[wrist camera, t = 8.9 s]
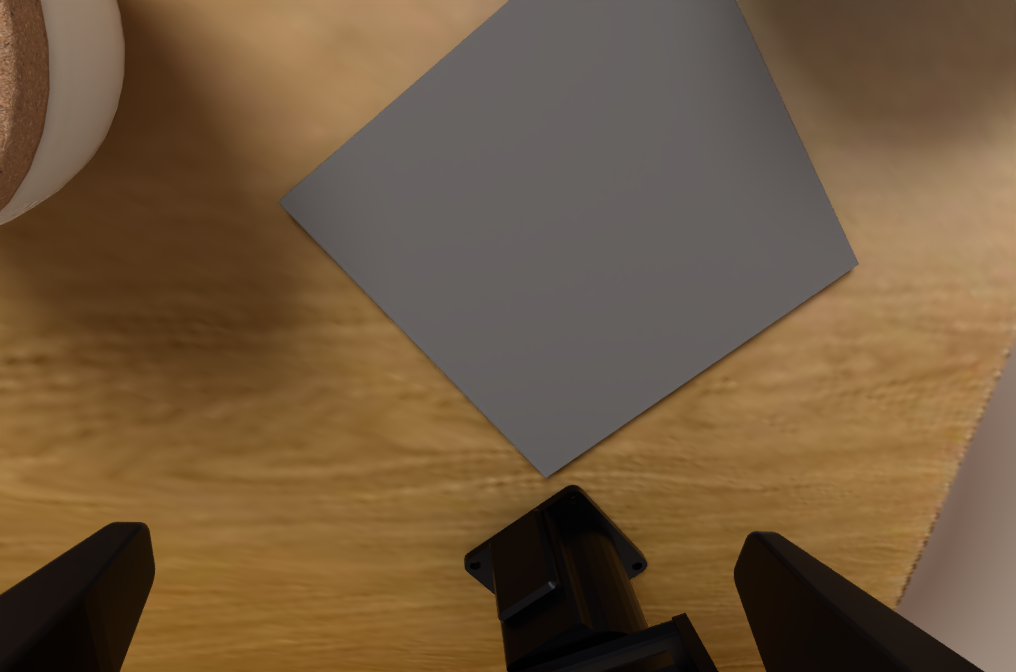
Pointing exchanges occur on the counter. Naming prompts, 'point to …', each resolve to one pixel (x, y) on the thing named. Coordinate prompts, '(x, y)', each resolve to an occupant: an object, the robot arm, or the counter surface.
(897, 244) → the counter surface
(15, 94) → the lidded jar
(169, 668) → the counter surface
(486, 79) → the mat
